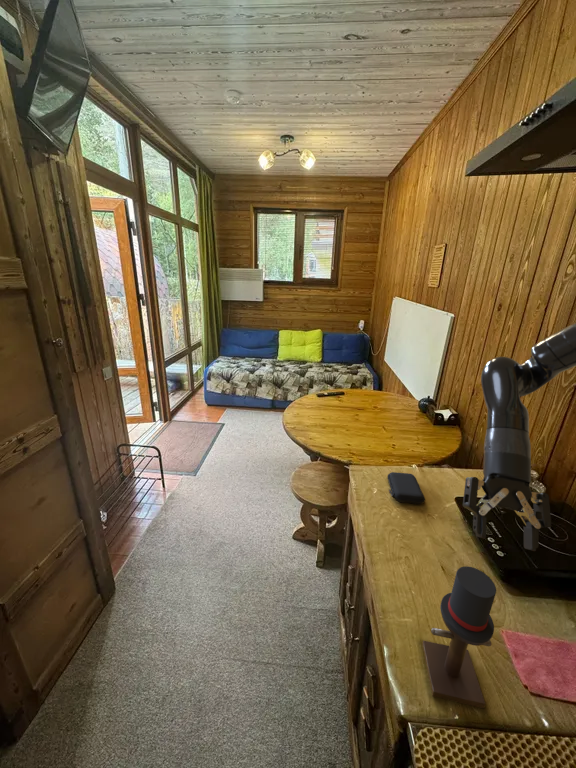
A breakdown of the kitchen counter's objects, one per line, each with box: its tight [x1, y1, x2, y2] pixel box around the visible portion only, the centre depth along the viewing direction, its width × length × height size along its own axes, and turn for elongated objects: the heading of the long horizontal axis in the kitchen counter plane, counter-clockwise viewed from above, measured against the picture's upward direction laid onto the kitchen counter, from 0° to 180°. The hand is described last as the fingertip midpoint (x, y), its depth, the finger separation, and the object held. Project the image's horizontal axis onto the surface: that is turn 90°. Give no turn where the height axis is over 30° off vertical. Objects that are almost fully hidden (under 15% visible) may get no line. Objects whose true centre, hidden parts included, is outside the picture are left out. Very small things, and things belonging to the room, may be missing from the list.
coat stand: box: [421, 615, 492, 709], centre depth 53 cm, size 9×8×14 cm
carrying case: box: [387, 471, 426, 505], centre depth 103 cm, size 11×3×15 cm
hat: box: [439, 565, 497, 643], centre depth 49 cm, size 8×8×8 cm
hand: (505, 543), depth 56 cm, fingers open, 8 cm apart
